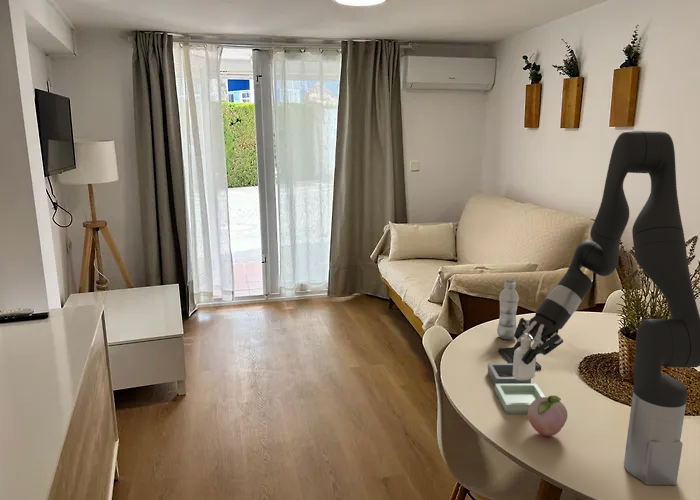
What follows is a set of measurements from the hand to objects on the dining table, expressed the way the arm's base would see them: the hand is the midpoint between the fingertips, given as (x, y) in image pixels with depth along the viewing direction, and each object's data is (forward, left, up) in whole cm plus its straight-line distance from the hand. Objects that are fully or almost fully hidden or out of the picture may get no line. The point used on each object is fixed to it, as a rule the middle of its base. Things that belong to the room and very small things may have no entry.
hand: (518, 359), depth 131 cm
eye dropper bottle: (+1, -2, -6) cm, 6 cm away
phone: (+26, -9, -13) cm, 31 cm away
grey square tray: (+13, -2, -13) cm, 18 cm away
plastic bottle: (+43, -10, -13) cm, 46 cm away
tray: (+1, -2, -13) cm, 13 cm away
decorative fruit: (-14, -3, -13) cm, 19 cm away
